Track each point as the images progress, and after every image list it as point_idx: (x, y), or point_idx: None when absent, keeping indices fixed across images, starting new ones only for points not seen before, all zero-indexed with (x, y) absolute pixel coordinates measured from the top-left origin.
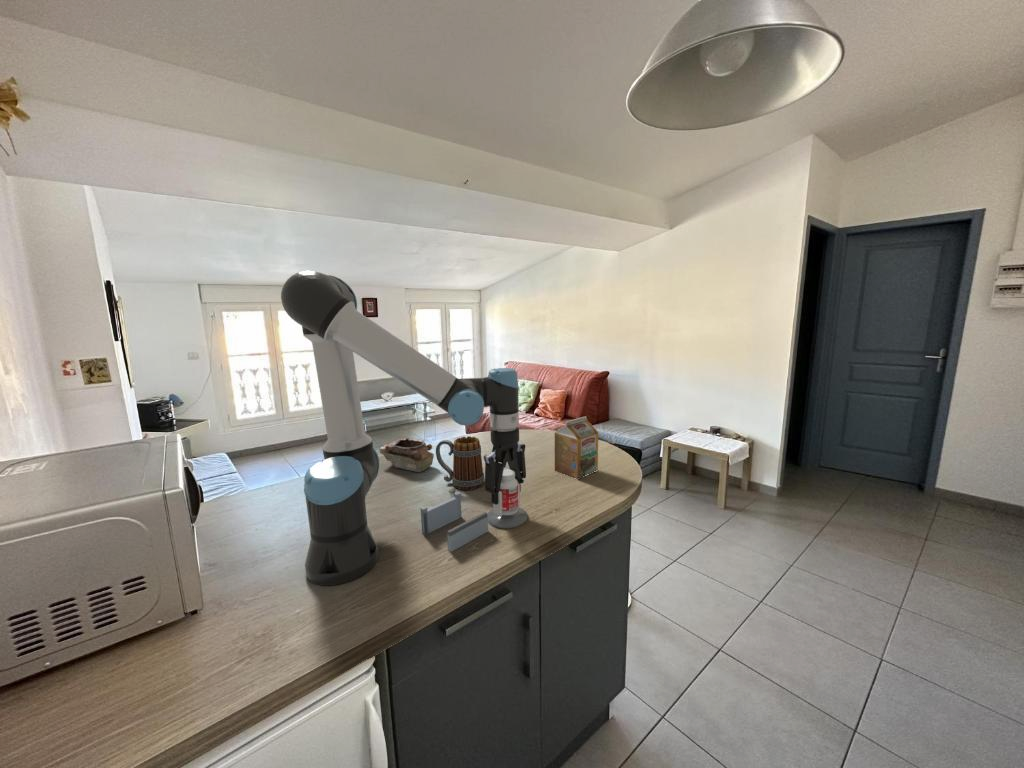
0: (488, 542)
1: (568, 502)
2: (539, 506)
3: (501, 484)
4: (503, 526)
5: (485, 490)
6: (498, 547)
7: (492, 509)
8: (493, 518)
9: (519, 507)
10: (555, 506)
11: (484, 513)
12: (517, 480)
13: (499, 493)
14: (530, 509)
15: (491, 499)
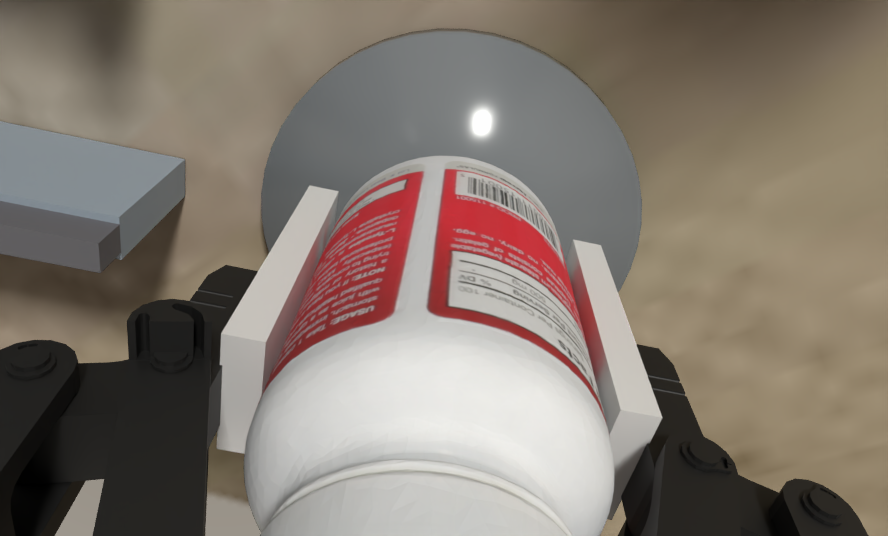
0: (80, 275)
1: (884, 490)
2: (752, 351)
3: (259, 518)
4: None
5: (7, 358)
6: (92, 355)
7: (476, 42)
8: (330, 156)
9: (632, 257)
10: (790, 443)
11: (69, 257)
12: (630, 525)
13: (220, 438)
14: (674, 314)
15: (197, 291)
